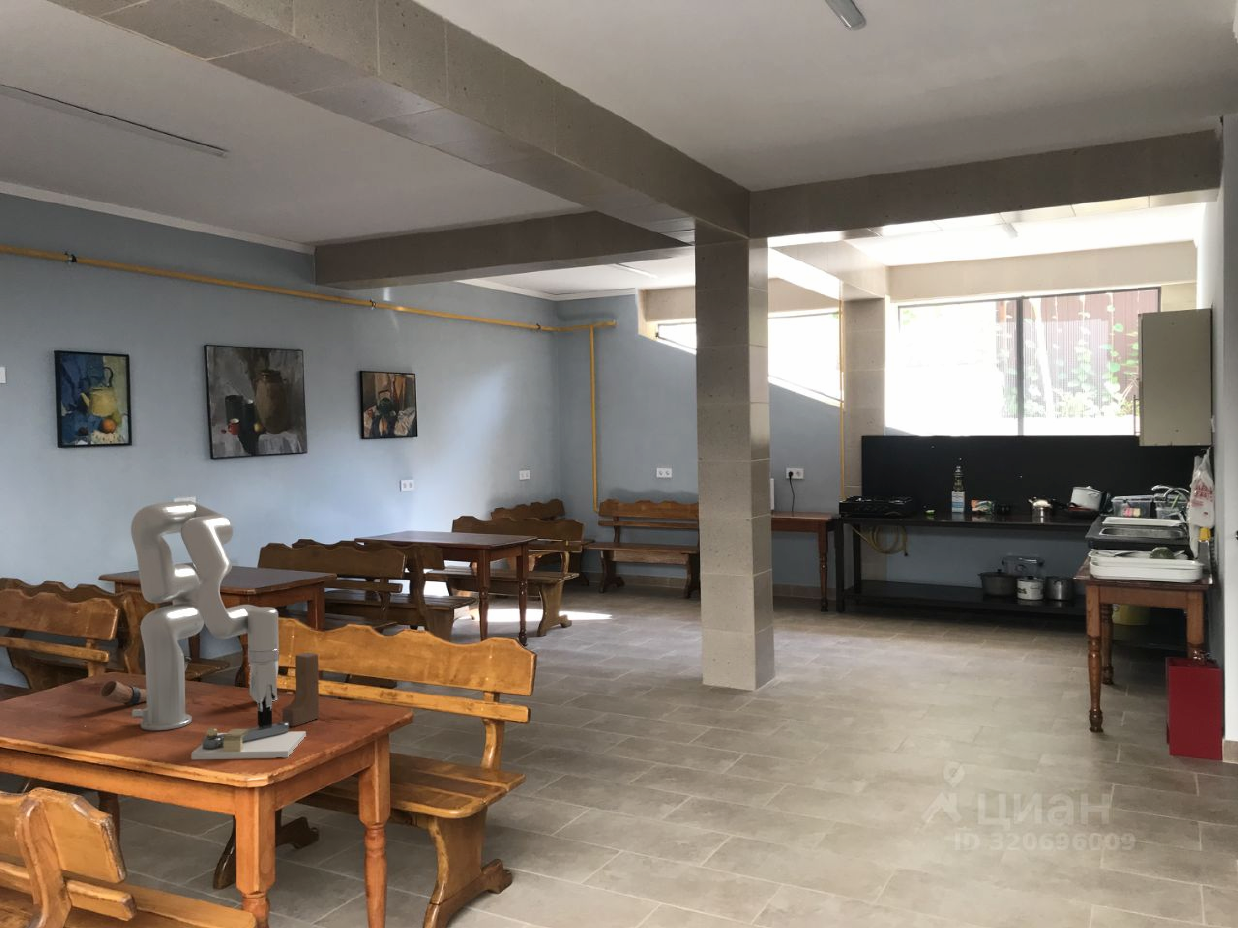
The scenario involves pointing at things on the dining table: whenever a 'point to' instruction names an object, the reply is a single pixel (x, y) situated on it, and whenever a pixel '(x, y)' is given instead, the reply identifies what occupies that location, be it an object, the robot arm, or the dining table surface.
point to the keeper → (230, 738)
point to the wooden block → (304, 691)
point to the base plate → (256, 747)
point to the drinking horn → (126, 691)
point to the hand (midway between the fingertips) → (264, 725)
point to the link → (252, 734)
